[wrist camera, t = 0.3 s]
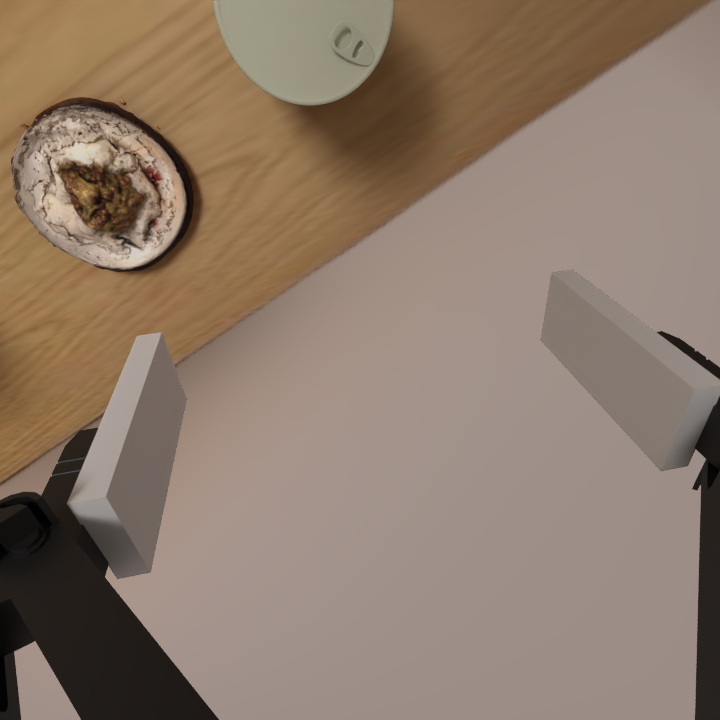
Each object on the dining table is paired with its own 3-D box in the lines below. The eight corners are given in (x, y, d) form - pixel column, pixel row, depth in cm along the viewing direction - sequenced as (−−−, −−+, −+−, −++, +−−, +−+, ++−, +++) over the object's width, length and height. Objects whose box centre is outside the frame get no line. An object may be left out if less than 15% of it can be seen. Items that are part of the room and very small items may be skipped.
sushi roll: (248, 202, 40) (247, 217, 37) (124, 304, 43) (113, 327, 40) (97, 28, 32) (77, 27, 29) (-41, 169, 36) (-73, 183, 32)
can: (314, 115, 37) (332, 143, 27) (202, 32, 33) (176, 30, 23) (384, -6, 34) (434, -23, 24) (268, -115, 30) (271, -191, 20)
